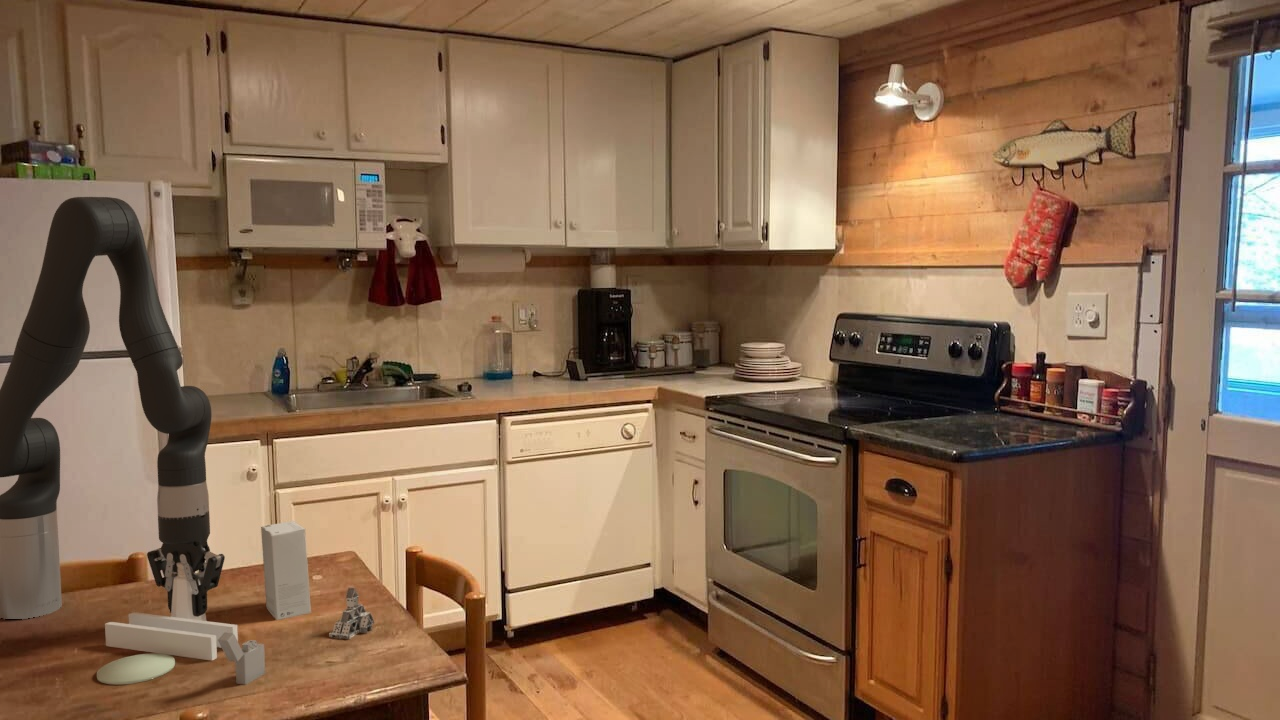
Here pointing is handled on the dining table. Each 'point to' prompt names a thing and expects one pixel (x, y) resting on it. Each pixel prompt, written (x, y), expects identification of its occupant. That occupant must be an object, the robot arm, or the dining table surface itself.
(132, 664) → the pad
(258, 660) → the lighter
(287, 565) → the skincare box
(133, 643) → the low walls
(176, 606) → the pepper shaker
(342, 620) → the house of cards
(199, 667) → the dining table surface
